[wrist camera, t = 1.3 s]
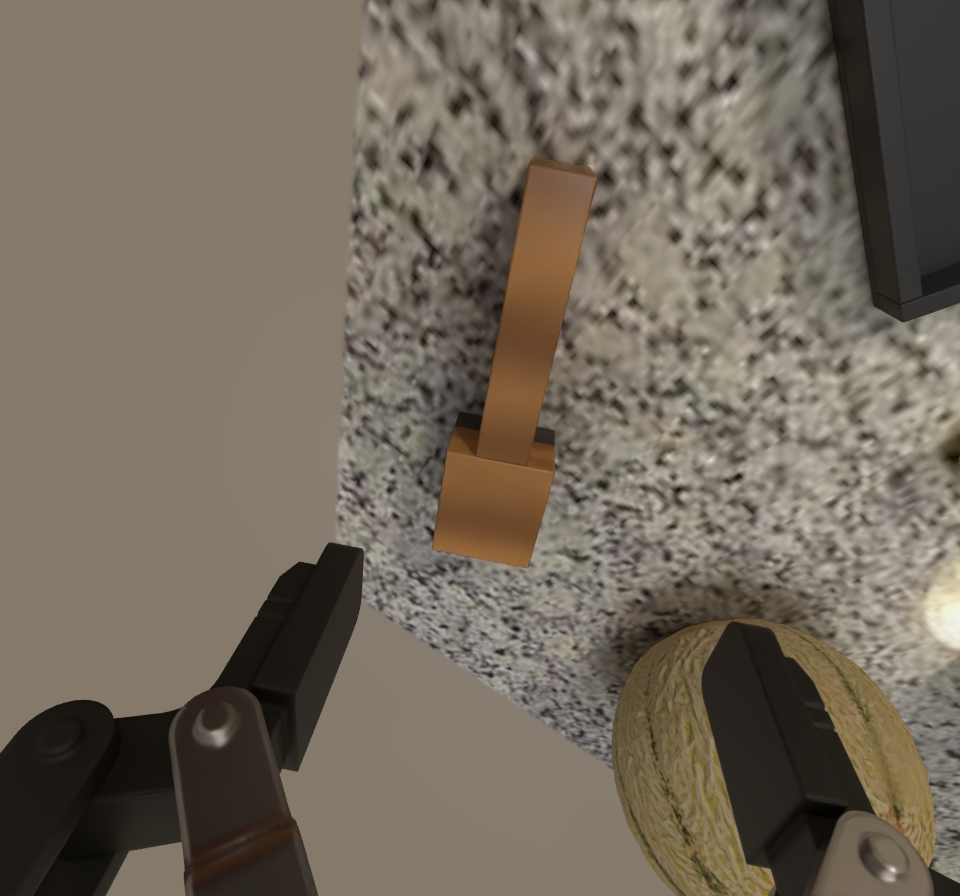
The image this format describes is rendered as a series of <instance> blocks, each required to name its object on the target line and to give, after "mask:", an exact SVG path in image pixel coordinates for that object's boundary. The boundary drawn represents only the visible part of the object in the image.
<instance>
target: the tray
mask: <svg viewBox="0 0 960 896" xmlns="http://www.w3.org/2000/svg"><path fill="white" fill-rule="evenodd" d="M828 1H829V8H830V15H831V22H832V28H833V35H834V42H835V48H836V55H837V62H838V68H839V75H840V82H841V88H842V95H843V102H844V109H845V115H846V122H847V129H848V135H849V142H850V149H851V155H852V162H853V169H854V175H855V182H856V189H857V196H858V202H859V209H860V216H861V222H862V229H863V236H864V242H865V249H866V256H867V262H868V269H869V276H870V283H871V289H872V296H873V303H874V307H876V308H878V309H881V310H882V311H884V312H885V313H887V314H889V315H890V316H892V317H894V318H896V319H897V320H899V321H901V322H906V321H909V320H912V319H915V318H918V317H921V316H924V315H926V314H929V313H932V312H935V311H938V310H941V309H944V308H947V307H949V306H952V305H955V304H958V303H960V0H828Z"/></svg>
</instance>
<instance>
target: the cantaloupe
mask: <svg viewBox="0 0 960 896" xmlns="http://www.w3.org/2000/svg"><path fill="white" fill-rule="evenodd" d="M732 621H736V622H741V623H746V624H752V625H757V626H762V627H767V628H770V629H771V630H772V631H773V632H774V634H775V636H776V638H777V640H778V642H779V645H780V647H781V649H782V652H783V654H784V656H785V657H790V658H794V659H795V660H796V661H797V663H798V664H799V665H800V666H801V667H802V668H803V670H804V671H805V672H806V673H807V674H808V675H809V677H810V678H811V679H812V680H813V681H814V683H815V685H816V688H817V690H818V692H819V694H820V696H821V698H822V700H823V703H824V705H825V711H828V713H829V715H830V718H831V720H832V722H833V724H834V726H835V728H834V730H835V732H837V733H838V735H839V737H840V739H841V741H842V743H843V745H844V748H845V750H846V752H847V754H848V756H849V758H850V760H851V763H852V765H853V767H854V769H855V771H856V773H857V775H858V778H859V780H860V782H861V784H862V786H863V788H864V790H865V793H866V795H867V797H868V799H869V801H870V803H871V805H872V808H873V810H874V811H875V813H876V815H877V816H878V817H880V818H882V819H883V820H885V821H886V822H888V823H890V824H891V825H892V826H894V827H895V828H896V829H897V830H899V831H900V832H901V833H902V834H903V835H904V836H905V837H906V838H907V839H908V840H909V841H910V842H911V843H912V845H913V846H914V847H915V848H916V850H917V851H918V852H919V854H920V855H921V857H922V858H923V860H924V862H925V863H926V865H927V867H929V865H930V863H931V860H932V856H933V852H934V848H935V834H936V831H935V827H934V825H935V819H934V813H933V811H934V804H933V800H932V799H933V796H932V794H931V791H930V786H929V781H928V772H927V770H926V768H925V766H924V763H923V761H922V759H921V757H920V755H919V753H918V750H917V748H916V745H915V743H914V741H913V738H912V736H911V734H910V732H909V730H908V729H907V727H906V725H905V724H904V722H903V720H902V719H901V717H900V716H899V714H898V712H897V710H896V709H895V708H894V706H893V705H892V704H891V702H890V701H889V699H888V698H887V697H886V695H885V694H884V692H882V690H881V689H880V688H879V687H878V685H877V684H876V683H875V682H874V681H873V680H872V679H871V678H870V677H869V676H868V675H867V674H866V673H865V672H864V671H863V670H862V669H861V668H860V667H859V666H858V665H856V664H855V663H854V662H852V661H851V660H849V659H848V658H847V657H846V656H845V655H844V654H843V653H841V652H839V651H837V650H836V649H835V648H833V647H830V646H828V645H826V644H825V643H824V642H821V641H819V640H817V639H816V638H814V637H813V636H810V635H808V634H806V633H804V632H802V631H799V630H796V629H793V628H791V627H788V626H786V625H783V624H778V623H772V622H769V621H765V620H757V619H751V618H733V619H727V620H722V621H710V622H706V623H702V624H698V625H693V626H688V627H686V628H684V629H682V630H680V631H678V632H676V633H674V634H673V635H671V636H669V637H667V638H665V639H663V640H661V641H660V642H659V643H657V644H655V645H654V646H653V647H651V648H650V649H649V650H648V651H646V653H645V654H644V655H643V656H642V657H641V658H640V659H639V660H638V662H637V663H636V664H635V665H634V666H633V669H632V672H631V673H630V675H629V677H628V679H627V681H626V684H625V686H624V687H623V690H622V692H621V694H620V696H619V700H618V705H617V709H616V713H615V718H614V723H613V736H612V760H613V768H614V775H615V783H616V786H617V792H618V795H619V798H620V801H621V804H622V807H623V811H624V814H625V817H626V820H627V824H628V826H629V828H630V830H631V832H632V834H633V836H634V837H635V839H636V841H637V843H638V844H639V846H640V848H641V850H642V852H643V854H644V856H645V857H646V859H647V860H648V862H649V863H650V865H651V866H652V868H653V870H654V871H655V872H656V874H657V875H658V876H659V878H660V879H661V880H662V881H663V882H664V883H665V884H666V885H667V886H668V887H669V888H670V889H671V890H672V891H673V893H674V894H675V895H676V896H768V893H769V892H770V890H771V889H772V887H773V886H774V885H775V882H774V879H773V875H772V872H771V869H768V868H763V867H758V866H753V865H748V864H746V861H745V857H744V853H743V849H742V845H741V841H740V838H739V834H738V830H737V826H736V822H735V818H734V815H733V811H732V807H731V803H730V799H729V795H728V792H727V788H726V784H725V780H724V776H723V773H722V769H721V765H720V761H719V757H718V753H717V750H716V746H715V742H714V738H713V734H712V730H711V727H710V723H709V719H708V715H707V711H706V707H705V704H704V700H703V696H702V688H701V680H702V673H703V669H704V666H705V664H706V662H707V660H708V659H709V657H710V655H711V653H712V651H713V649H714V648H715V646H716V644H717V642H718V640H719V639H720V637H721V635H722V633H723V631H724V630H725V628H726V626H727V625H728V624H729V623H730V622H732Z"/></svg>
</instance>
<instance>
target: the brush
mask: <svg viewBox="0 0 960 896" xmlns="http://www.w3.org/2000/svg"><path fill="white" fill-rule="evenodd" d="M597 180H598V177H597V175H596V174H595V173H594V172H593V170H592V169H591V168H590V167H586V166H581V165H576V164H570V163H565V162H560V161H555V160H549V159H544V158H539V157H533V158H532V160H531V162H530V164H529V167H528V173H527V178H526V184H525V189H524V194H523V200H522V205H521V211H520V216H519V221H518V227H517V232H516V238H515V243H514V248H513V254H512V259H511V265H510V270H509V275H508V281H507V286H506V291H505V297H504V302H503V308H502V313H501V318H500V324H499V329H498V335H497V340H496V345H495V351H494V356H493V362H492V367H491V372H490V378H489V383H488V389H487V394H486V399H485V405H484V410H483V416H478V415H473V414H468V413H463V412H459V414H458V417H457V420H456V424H455V428H454V430H453V433H452V437H451V440H450V443H449V446H448V449H447V453H446V460H445V466H444V473H443V479H442V486H441V492H440V499H439V505H438V512H437V518H436V525H435V532H434V538H433V545H432V549H433V550H437V551H442V552H447V553H452V554H457V555H462V556H467V557H473V558H478V559H483V560H488V561H493V562H498V563H503V564H508V565H513V566H518V567H523V568H528V567H529V563H530V560H531V556H532V553H533V549H534V546H535V542H536V539H537V535H538V531H539V528H540V524H541V521H542V517H543V514H544V510H545V506H546V503H547V499H548V496H549V492H550V489H551V485H552V482H553V478H554V474H555V447H554V446H555V431H554V430H549V429H544V428H539V427H537V424H538V420H539V416H540V412H541V407H542V403H543V399H544V395H545V391H546V387H547V383H548V379H549V375H550V371H551V367H552V363H553V359H554V355H555V351H556V347H557V343H558V339H559V335H560V330H561V326H562V322H563V318H564V314H565V310H566V306H567V302H568V298H569V294H570V290H571V286H572V282H573V278H574V274H575V270H576V266H577V262H578V257H579V253H580V249H581V245H582V241H583V237H584V233H585V229H586V225H587V221H588V217H589V213H590V209H591V205H592V201H593V197H594V193H595V189H596V185H597Z"/></svg>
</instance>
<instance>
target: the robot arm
mask: <svg viewBox="0 0 960 896" xmlns="http://www.w3.org/2000/svg"><path fill="white" fill-rule="evenodd" d="M363 561H364V551H363V549H362V548H357V547H352V546H346V545H341V544H336V543H331V542H330V543H328V544H327V546H326V547H325V549H324V551H323V553H322V554H321V556H320V558H319V560H318V562H317V564H316V565H314V564H309V563H304V562H298V563H297V564H295V565H294V566H293V567H292V568H291V569H289V570H288V571H286V572H285V573H284V574H283V575H281V576H280V577H279V579H278V581H277V582H276V584H275V585H274V587H273V588H272V590H271V592H270V593H269V595H268V598H267V600H265V602H264V603H263V605H262V607H261V608H260V610H259V612H258V615H257V617H255V618H254V620H253V622H252V623H251V625H250V627H249V628H248V630H247V632H246V633H245V635H244V637H243V638H242V640H241V642H240V644H239V645H238V647H237V648H236V650H235V652H234V653H233V655H232V657H231V658H230V660H229V662H228V663H227V665H226V667H225V668H224V670H223V672H222V673H221V675H220V677H219V678H218V680H217V681H216V682H215V684H214V685H213V686H212V687H211V688H210V689H209V690H207V691H205V692H202V693H201V694H199V695H197V696H195V697H194V698H192V699H191V700H190V701H188V702H187V703H186V704H185V705H184V706H183V707H181V708H179V709H176V710H173V711H169V712H164V713H158V714H149V715H141V716H132V717H124V718H115V719H114V718H113V715H112V713H111V711H110V710H109V709H108V708H107V707H106V706H105V705H103V704H101V703H99V702H96V701H91V700H75V701H70V702H66V703H63V704H59V705H56V706H54V707H52V708H50V709H47V710H45V711H44V712H42V713H40V714H39V715H37V716H36V717H34V718H33V719H31V720H30V721H29V722H28V723H26V724H25V725H24V726H23V727H22V728H21V729H20V730H19V731H18V732H17V734H16V735H15V736H14V737H13V738H12V740H11V741H10V742H9V743H8V744H7V746H6V747H5V748H4V749H3V751H2V752H1V753H0V896H106V894H107V892H108V890H109V888H110V886H111V884H112V883H113V881H114V879H115V876H116V875H117V873H118V871H119V869H120V867H121V865H122V863H123V862H124V859H125V858H126V856H127V854H128V852H129V851H131V850H137V849H143V848H148V847H155V846H160V845H166V844H172V843H177V842H182V848H183V855H184V865H185V871H184V885H185V895H186V896H318V893H317V890H316V886H315V883H314V879H313V876H312V872H311V868H310V865H309V862H308V858H307V854H306V851H305V848H304V844H303V840H302V837H301V834H300V831H299V828H298V825H297V823H296V821H295V819H293V818H292V816H291V813H290V810H289V807H288V803H287V799H286V796H285V792H284V789H283V785H282V781H281V778H280V772H281V769H287V770H292V771H297V772H298V770H299V767H300V765H301V762H302V760H303V757H304V755H305V752H306V750H307V747H308V744H309V742H310V739H311V737H312V734H313V732H314V729H315V727H316V724H317V721H318V719H319V717H320V714H321V711H322V709H323V706H324V704H325V701H326V699H327V696H328V693H329V691H330V688H331V686H332V683H333V681H334V678H335V676H336V673H337V671H338V668H339V666H340V663H341V660H342V658H343V655H344V653H345V650H346V648H347V645H348V643H349V640H350V638H351V635H352V632H353V630H354V627H355V624H356V621H357V618H358V614H359V610H360V605H361V598H362V581H363ZM701 688H702V696H703V700H704V704H705V707H706V711H707V715H708V719H709V723H710V727H711V730H712V734H713V738H714V742H715V746H716V750H717V753H718V757H719V761H720V765H721V769H722V773H723V776H724V780H725V784H726V788H727V792H728V795H729V799H730V803H731V807H732V811H733V815H734V818H735V822H736V826H737V830H738V834H739V838H740V841H741V845H742V849H743V853H744V857H745V861H746V864H748V865H753V866H758V867H763V868H768V869H771V872H772V875H773V879H774V882H775V885H774V886H773V887H772V889H771V890H770V892H769V893H768V896H960V883H958V882H956V881H954V880H952V879H950V878H948V877H946V876H944V875H942V874H940V873H938V872H936V871H934V870H932V869H931V868H929V867H927V865H926V863H925V862H924V860H923V858H922V857H921V855H920V854H919V852H918V851H917V850H916V848H915V847H914V846H913V845H912V843H911V842H910V841H909V840H908V839H907V838H906V837H905V836H904V835H903V834H902V833H901V832H900V831H899V830H897V829H896V828H895V827H894V826H892V825H891V824H890V823H888V822H886V821H885V820H883V819H882V818H880V817H878V816H877V815H876V813H875V811H874V810H873V808H872V805H871V803H870V801H869V799H868V797H867V795H866V793H865V790H864V788H863V786H862V784H861V782H860V780H859V778H858V775H857V773H856V771H855V769H854V767H853V765H852V763H851V760H850V758H849V756H848V754H847V752H846V750H845V748H844V745H843V743H842V741H841V739H840V737H839V735H838V733H837V732H835V730H834V728H835V726H834V724H833V722H832V720H831V718H830V715H829V713H828V711H825V705H824V703H823V700H822V698H821V696H820V694H819V692H818V690H817V688H816V685H815V683H814V681H813V680H812V679H811V678H810V677H809V675H808V674H807V673H806V672H805V671H804V670H803V668H802V667H801V666H800V665H799V664H798V663H797V661H796V660H795V659H794V658H790V657H785V656H784V654H783V652H782V649H781V647H780V645H779V642H778V640H777V638H776V636H775V634H774V632H773V631H772V630H771V629H770V628H767V627H762V626H757V625H752V624H746V623H741V622H736V621H732V622H730V623H729V624H728V625H727V626H726V628H725V630H724V631H723V633H722V635H721V637H720V639H719V640H718V642H717V644H716V646H715V648H714V649H713V651H712V653H711V655H710V657H709V659H708V660H707V662H706V664H705V666H704V669H703V673H702V680H701Z"/></svg>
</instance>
